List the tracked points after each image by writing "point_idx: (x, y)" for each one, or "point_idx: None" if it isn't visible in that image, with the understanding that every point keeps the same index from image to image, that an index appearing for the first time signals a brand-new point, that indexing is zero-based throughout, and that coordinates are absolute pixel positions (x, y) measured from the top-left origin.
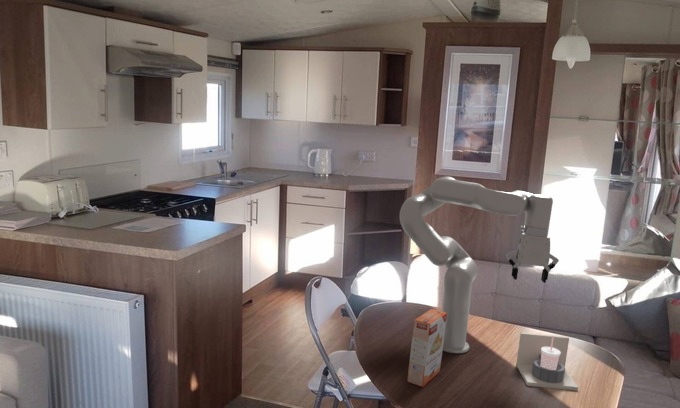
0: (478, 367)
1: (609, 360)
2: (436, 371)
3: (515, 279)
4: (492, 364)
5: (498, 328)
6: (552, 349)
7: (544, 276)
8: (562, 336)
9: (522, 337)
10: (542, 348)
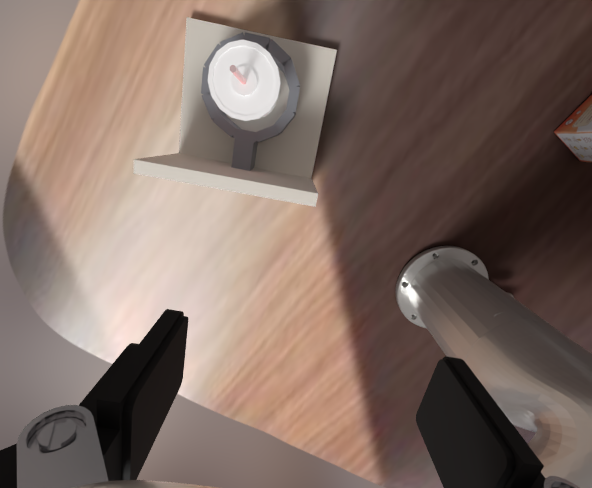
0: (425, 167)
1: (19, 227)
2: (590, 104)
3: (451, 358)
4: (375, 187)
5: (263, 391)
6: (236, 84)
7: (159, 355)
8: (156, 175)
9: (311, 189)
10: (271, 100)
